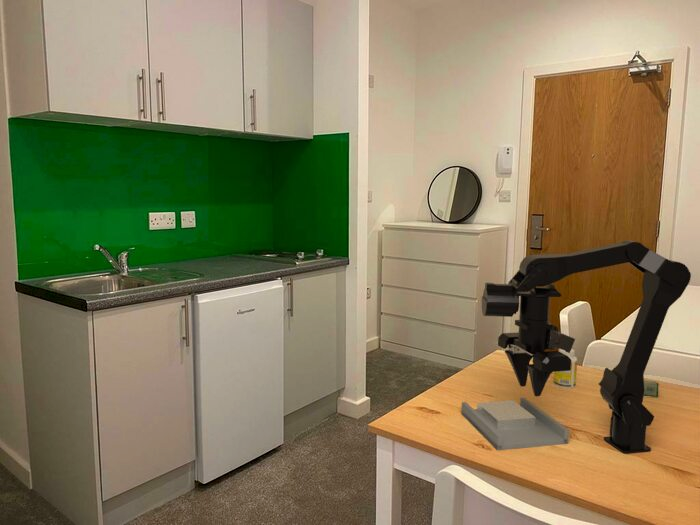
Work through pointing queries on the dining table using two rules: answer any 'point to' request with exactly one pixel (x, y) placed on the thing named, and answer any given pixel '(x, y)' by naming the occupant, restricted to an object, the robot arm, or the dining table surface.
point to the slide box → (519, 429)
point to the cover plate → (506, 414)
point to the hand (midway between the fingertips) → (529, 390)
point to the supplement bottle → (567, 372)
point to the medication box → (651, 388)
